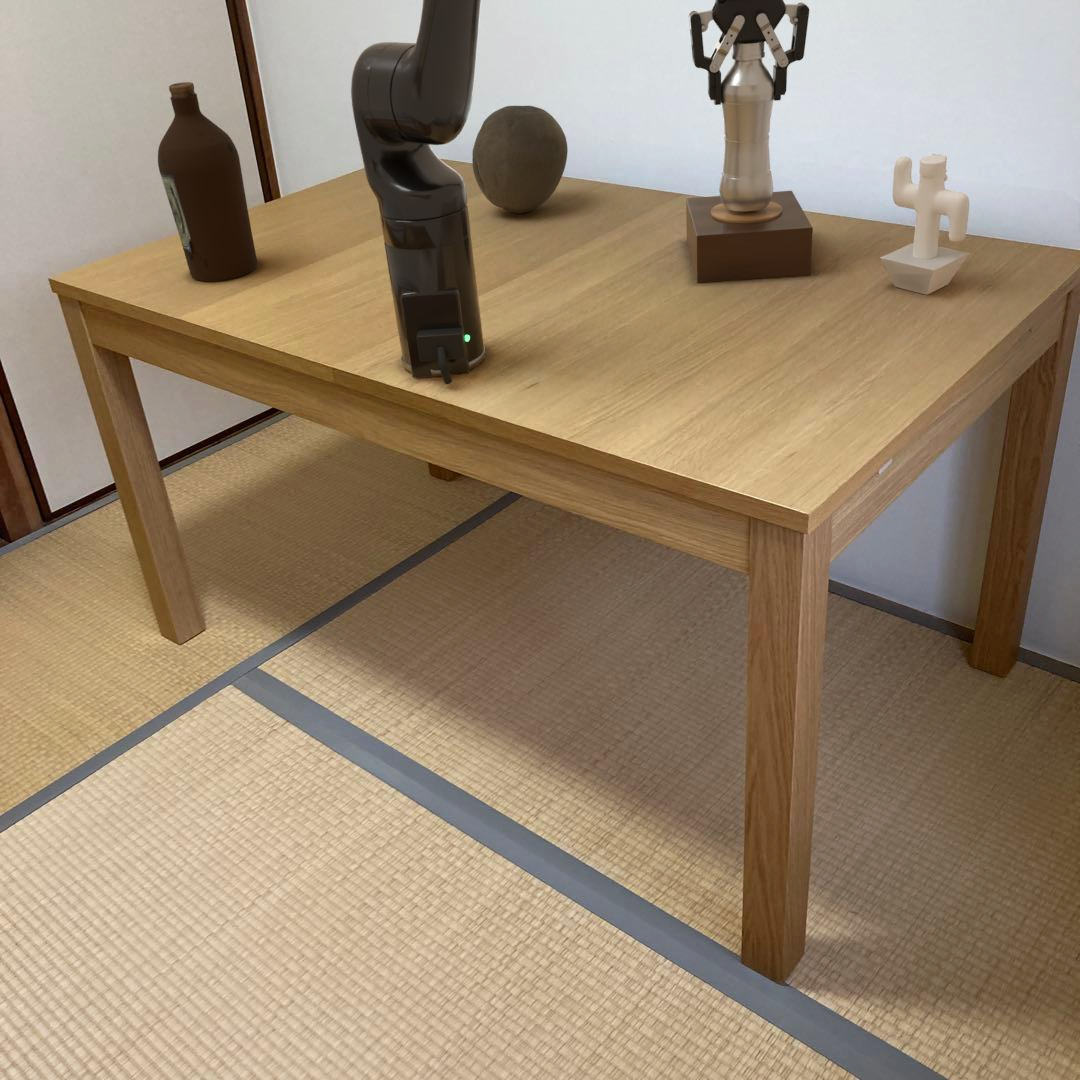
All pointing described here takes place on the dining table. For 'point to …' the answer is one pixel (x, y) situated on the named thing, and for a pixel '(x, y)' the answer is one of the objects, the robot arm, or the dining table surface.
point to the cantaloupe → (519, 157)
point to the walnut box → (748, 239)
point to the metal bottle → (746, 130)
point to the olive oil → (205, 192)
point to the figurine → (927, 227)
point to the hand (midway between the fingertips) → (747, 101)
